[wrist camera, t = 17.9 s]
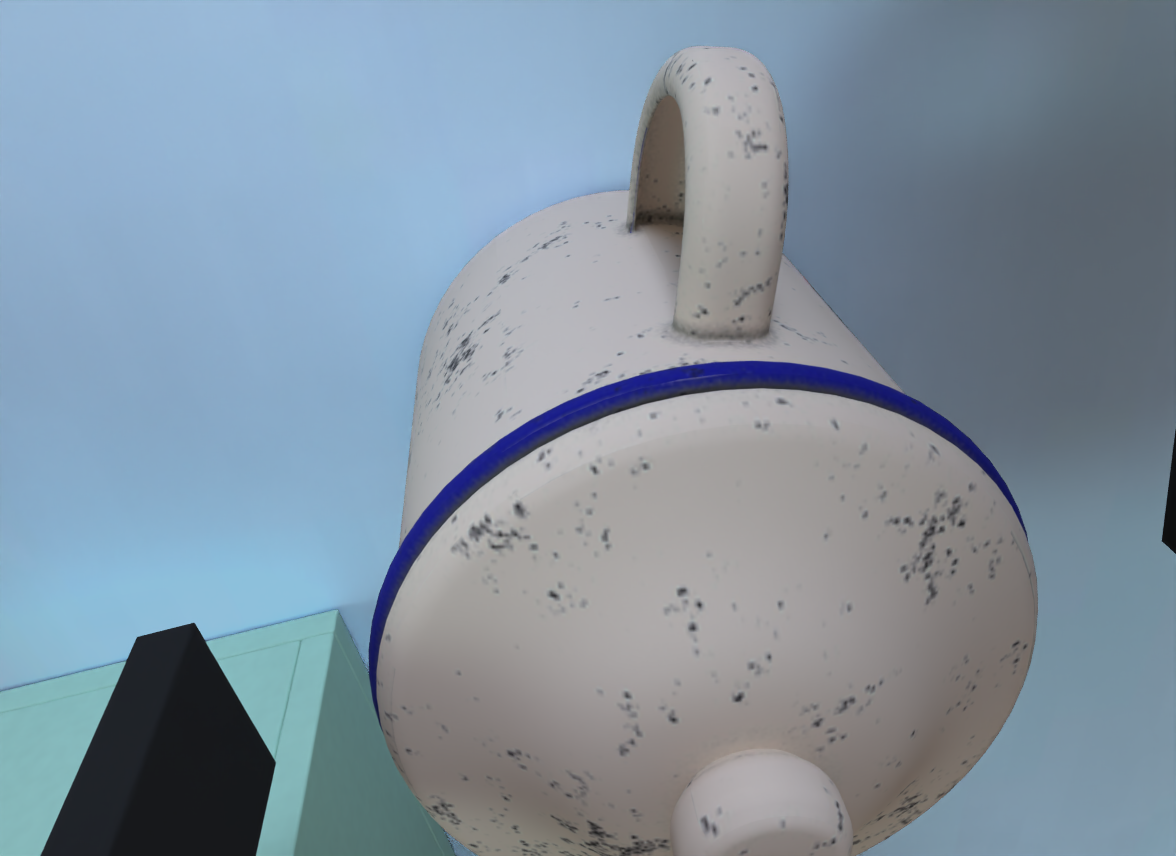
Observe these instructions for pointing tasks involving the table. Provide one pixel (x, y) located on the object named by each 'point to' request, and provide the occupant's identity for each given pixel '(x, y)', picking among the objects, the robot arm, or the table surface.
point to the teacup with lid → (686, 531)
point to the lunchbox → (284, 721)
